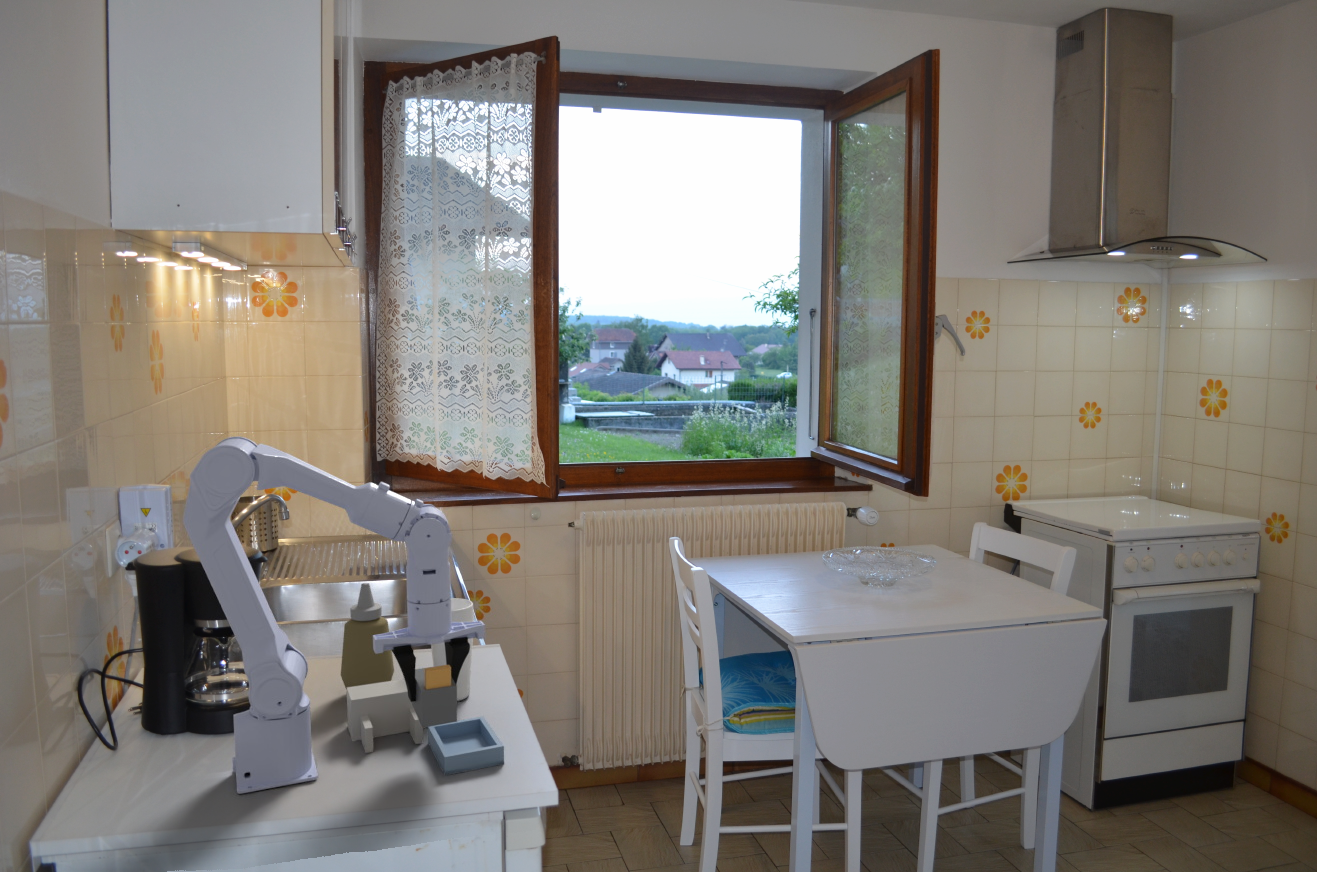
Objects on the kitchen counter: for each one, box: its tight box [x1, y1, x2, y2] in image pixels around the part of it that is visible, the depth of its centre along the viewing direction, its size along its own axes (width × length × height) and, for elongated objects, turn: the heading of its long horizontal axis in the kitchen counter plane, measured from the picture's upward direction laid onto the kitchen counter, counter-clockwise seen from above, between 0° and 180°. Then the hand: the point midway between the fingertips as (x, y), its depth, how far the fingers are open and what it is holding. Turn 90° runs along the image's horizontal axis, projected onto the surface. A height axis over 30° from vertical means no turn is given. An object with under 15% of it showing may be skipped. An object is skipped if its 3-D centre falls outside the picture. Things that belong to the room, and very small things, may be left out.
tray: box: [427, 715, 505, 776], centre depth 127 cm, size 8×10×2 cm
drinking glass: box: [430, 597, 475, 702], centre depth 146 cm, size 7×7×15 cm
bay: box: [346, 678, 425, 754], centre depth 133 cm, size 10×10×6 cm
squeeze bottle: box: [340, 582, 395, 691], centre depth 146 cm, size 8×8×18 cm
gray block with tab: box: [412, 665, 458, 729], centre depth 124 cm, size 7×4×8 cm, turn 25°
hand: (431, 695), depth 125 cm, fingers closed on gray block with tab, 4 cm apart
